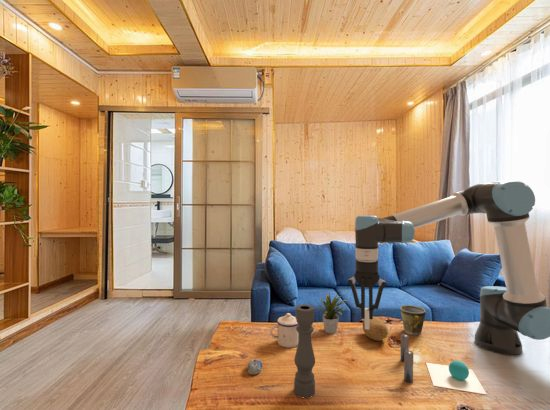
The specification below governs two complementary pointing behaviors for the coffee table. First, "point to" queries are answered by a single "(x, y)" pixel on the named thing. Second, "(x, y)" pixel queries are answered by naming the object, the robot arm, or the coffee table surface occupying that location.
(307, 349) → the candle holder
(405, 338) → the post
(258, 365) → the decorative stone
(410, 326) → the ceramic cup
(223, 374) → the coffee table surface
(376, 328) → the potato
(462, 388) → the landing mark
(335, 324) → the house plant
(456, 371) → the ball
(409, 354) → the post
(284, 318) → the teacup with lid
